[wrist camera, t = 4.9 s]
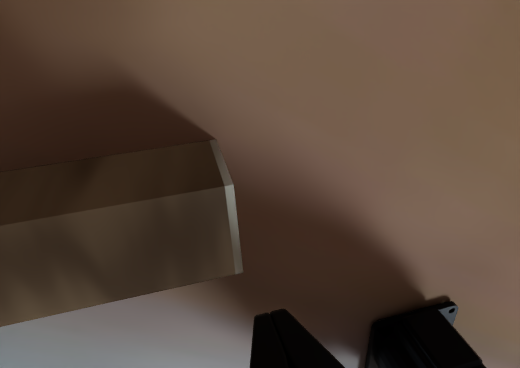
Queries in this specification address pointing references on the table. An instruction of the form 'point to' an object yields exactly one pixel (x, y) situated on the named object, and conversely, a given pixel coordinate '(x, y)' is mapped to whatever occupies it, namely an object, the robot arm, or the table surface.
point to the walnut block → (114, 229)
